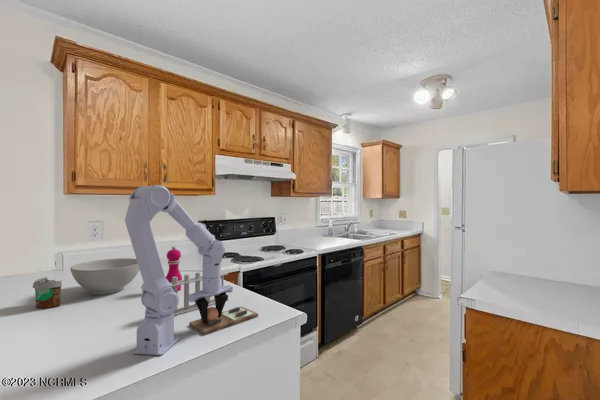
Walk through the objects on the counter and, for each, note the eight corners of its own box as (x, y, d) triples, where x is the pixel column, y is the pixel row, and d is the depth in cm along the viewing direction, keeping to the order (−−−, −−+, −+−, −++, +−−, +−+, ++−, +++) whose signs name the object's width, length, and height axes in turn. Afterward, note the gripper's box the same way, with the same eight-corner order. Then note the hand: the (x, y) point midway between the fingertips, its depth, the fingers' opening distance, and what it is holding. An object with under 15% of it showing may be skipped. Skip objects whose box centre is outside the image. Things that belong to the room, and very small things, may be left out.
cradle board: (204, 335, 85) (204, 327, 85) (189, 325, 92) (189, 318, 92) (258, 316, 100) (258, 310, 100) (241, 309, 107) (241, 303, 107)
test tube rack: (167, 319, 98) (167, 280, 98) (161, 316, 101) (161, 278, 101) (228, 300, 117) (228, 268, 117) (222, 298, 120) (222, 266, 120)
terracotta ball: (215, 324, 90) (215, 310, 90) (201, 323, 91) (201, 309, 91) (220, 318, 94) (220, 305, 94) (207, 318, 95) (207, 304, 95)
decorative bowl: (119, 280, 148) (119, 256, 148) (154, 286, 136) (154, 261, 136) (56, 294, 124) (57, 266, 124) (93, 304, 112) (93, 273, 112)
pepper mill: (164, 288, 132) (165, 245, 133) (181, 287, 135) (182, 244, 136) (164, 293, 126) (165, 247, 126) (182, 291, 129) (182, 246, 129)
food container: (25, 306, 109) (26, 280, 109) (46, 302, 114) (46, 276, 114) (41, 312, 103) (41, 284, 103) (61, 307, 109) (62, 280, 109)
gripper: (224, 270, 101) (224, 309, 100) (184, 278, 90) (183, 321, 90) (236, 274, 96) (235, 315, 96) (194, 282, 85) (194, 328, 85)
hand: (211, 319), depth 92 cm, fingers closed on terracotta ball, 4 cm apart
